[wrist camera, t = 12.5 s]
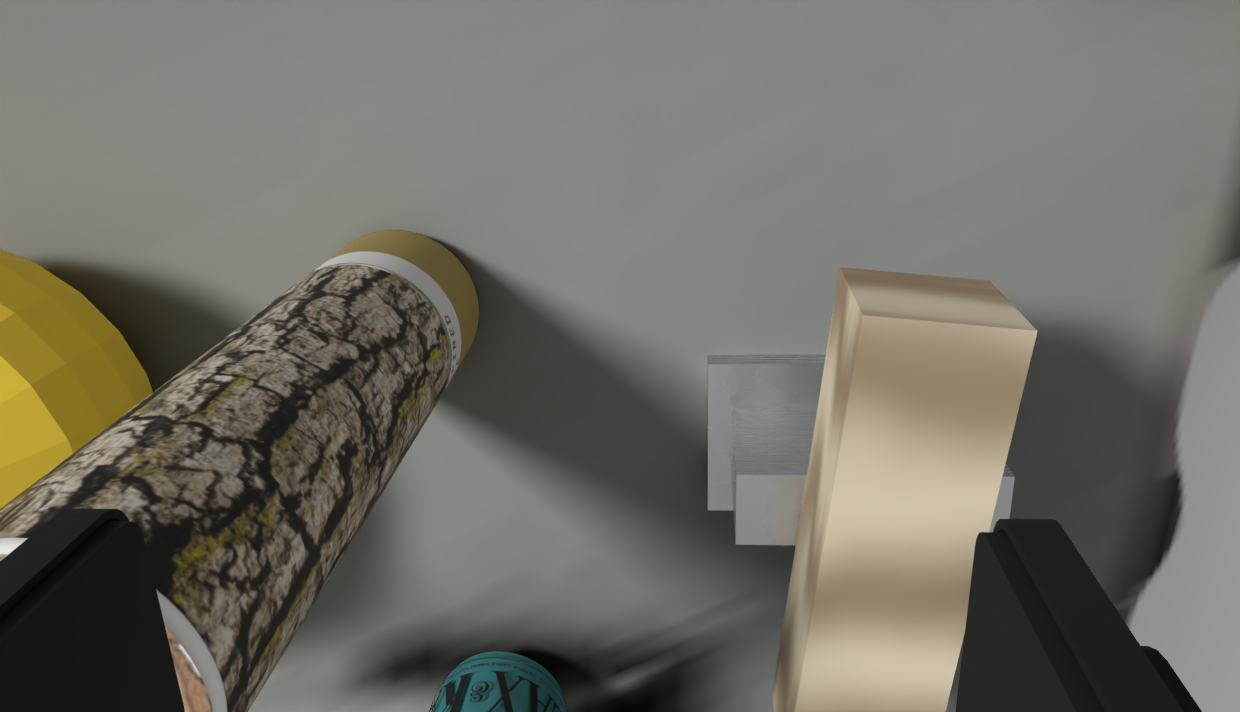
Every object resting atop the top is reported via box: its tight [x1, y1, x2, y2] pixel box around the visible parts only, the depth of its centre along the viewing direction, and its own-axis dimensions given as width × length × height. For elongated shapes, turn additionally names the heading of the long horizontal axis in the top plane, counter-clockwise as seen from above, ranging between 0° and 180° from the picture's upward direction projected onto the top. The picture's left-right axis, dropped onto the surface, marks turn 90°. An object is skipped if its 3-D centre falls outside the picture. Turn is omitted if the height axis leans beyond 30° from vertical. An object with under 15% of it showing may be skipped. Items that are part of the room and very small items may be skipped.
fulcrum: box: [708, 356, 1015, 545], centre depth 39 cm, size 7×12×7 cm, turn 92°
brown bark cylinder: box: [0, 230, 479, 712], centre depth 30 cm, size 7×7×25 cm
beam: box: [772, 268, 1038, 712], centre depth 34 cm, size 18×5×5 cm, turn 176°
